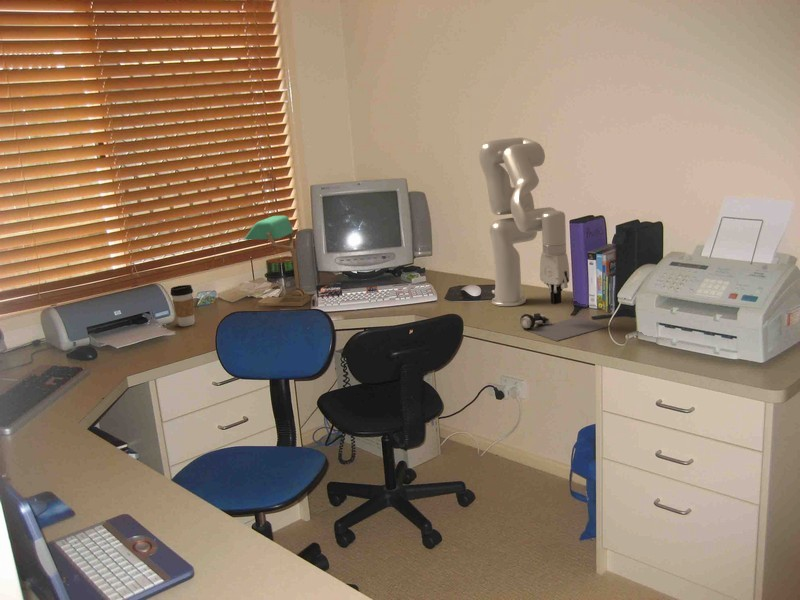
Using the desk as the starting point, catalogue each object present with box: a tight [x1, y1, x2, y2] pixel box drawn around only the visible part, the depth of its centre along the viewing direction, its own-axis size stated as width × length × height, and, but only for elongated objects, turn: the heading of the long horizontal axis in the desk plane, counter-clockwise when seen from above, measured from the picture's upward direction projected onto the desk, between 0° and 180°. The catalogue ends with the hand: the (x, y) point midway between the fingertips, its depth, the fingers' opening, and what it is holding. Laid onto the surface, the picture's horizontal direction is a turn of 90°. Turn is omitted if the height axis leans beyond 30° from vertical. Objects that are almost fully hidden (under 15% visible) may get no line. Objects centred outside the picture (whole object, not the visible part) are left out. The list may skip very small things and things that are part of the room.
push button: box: [519, 312, 553, 331], centre depth 259 cm, size 7×5×10 cm
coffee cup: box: [169, 284, 196, 327], centre depth 297 cm, size 8×8×15 cm
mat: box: [527, 316, 610, 342], centre depth 255 cm, size 14×22×1 cm, turn 119°
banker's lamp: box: [243, 215, 311, 307], centre depth 314 cm, size 16×21×35 cm
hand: (556, 303), depth 258 cm, fingers closed
